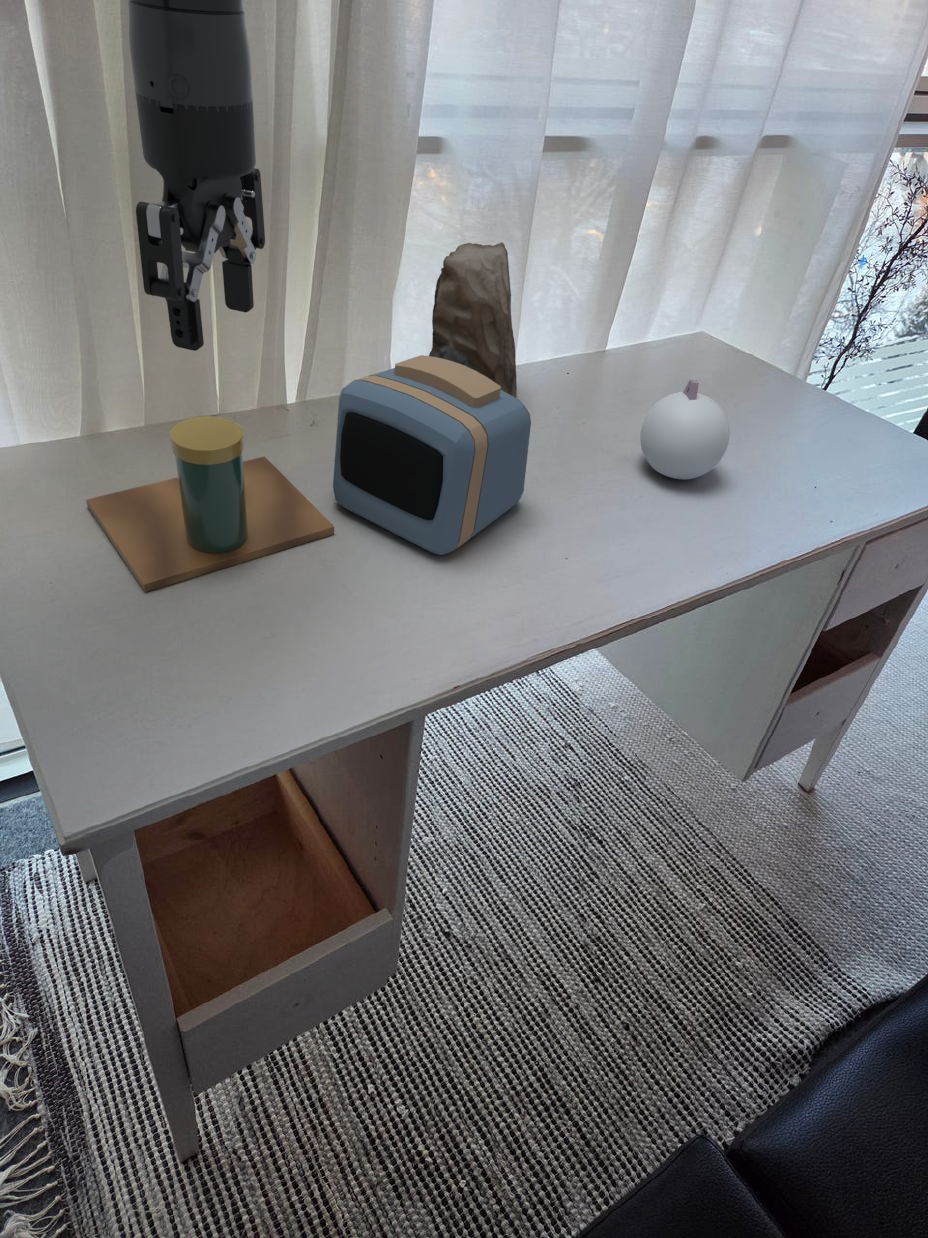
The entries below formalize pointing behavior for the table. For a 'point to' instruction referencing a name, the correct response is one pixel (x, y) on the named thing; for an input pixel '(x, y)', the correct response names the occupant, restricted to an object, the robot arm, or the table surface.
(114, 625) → the table surface
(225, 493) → the jar
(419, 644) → the table surface
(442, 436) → the alarm clock
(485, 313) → the jagged brown rock
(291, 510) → the cork mat
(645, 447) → the ornament
